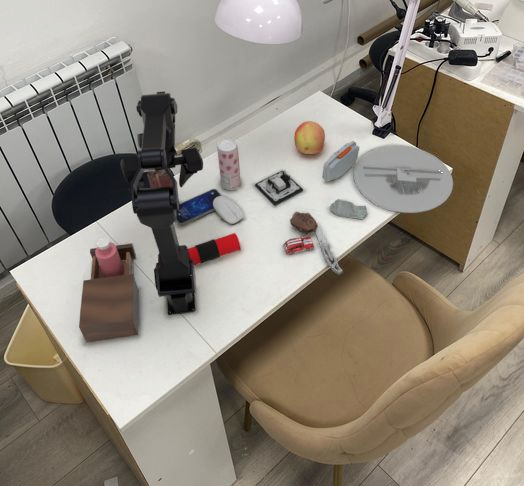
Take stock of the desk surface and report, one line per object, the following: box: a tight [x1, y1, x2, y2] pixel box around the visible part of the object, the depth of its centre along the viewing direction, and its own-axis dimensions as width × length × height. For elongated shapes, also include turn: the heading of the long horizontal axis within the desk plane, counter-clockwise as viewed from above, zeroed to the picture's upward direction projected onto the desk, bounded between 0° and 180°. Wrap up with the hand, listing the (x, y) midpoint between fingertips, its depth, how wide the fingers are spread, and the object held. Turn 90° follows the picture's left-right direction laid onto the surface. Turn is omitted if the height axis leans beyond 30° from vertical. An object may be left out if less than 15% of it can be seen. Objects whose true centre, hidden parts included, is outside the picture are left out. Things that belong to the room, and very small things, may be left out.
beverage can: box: [216, 138, 242, 191], centre depth 155 cm, size 6×6×15 cm
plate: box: [353, 144, 454, 214], centre depth 160 cm, size 28×28×1 cm
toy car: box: [282, 236, 315, 256], centre depth 142 cm, size 4×8×3 cm, turn 105°
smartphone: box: [175, 188, 223, 227], centre depth 154 cm, size 7×1×15 cm
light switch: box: [254, 170, 304, 206], centre depth 157 cm, size 10×4×10 cm
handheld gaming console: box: [321, 140, 360, 182], centre depth 160 cm, size 14×3×8 cm, turn 136°
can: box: [147, 168, 180, 211], centre depth 149 cm, size 6×6×14 cm
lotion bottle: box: [95, 236, 124, 277], centre depth 133 cm, size 5×5×12 cm
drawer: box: [89, 242, 137, 279], centre depth 136 cm, size 13×10×5 cm
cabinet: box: [78, 273, 140, 343], centre depth 128 cm, size 13×12×7 cm
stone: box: [289, 211, 318, 235], centre depth 147 cm, size 7×7×3 cm
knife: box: [315, 223, 344, 276], centre depth 142 cm, size 2×18×3 cm
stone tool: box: [329, 198, 368, 220], centre depth 151 cm, size 10×2×5 cm
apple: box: [293, 120, 326, 155], centre depth 167 cm, size 10×10×10 cm
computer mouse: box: [213, 195, 245, 225], centre depth 151 cm, size 6×10×3 cm, turn 39°
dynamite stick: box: [187, 232, 242, 266], centre depth 140 cm, size 5×5×20 cm
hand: (162, 189), depth 138 cm, fingers open, 9 cm apart
